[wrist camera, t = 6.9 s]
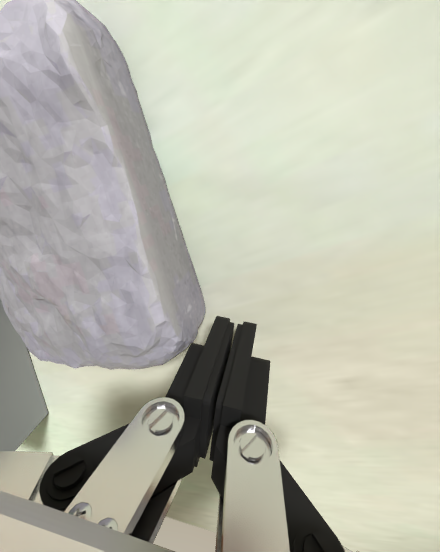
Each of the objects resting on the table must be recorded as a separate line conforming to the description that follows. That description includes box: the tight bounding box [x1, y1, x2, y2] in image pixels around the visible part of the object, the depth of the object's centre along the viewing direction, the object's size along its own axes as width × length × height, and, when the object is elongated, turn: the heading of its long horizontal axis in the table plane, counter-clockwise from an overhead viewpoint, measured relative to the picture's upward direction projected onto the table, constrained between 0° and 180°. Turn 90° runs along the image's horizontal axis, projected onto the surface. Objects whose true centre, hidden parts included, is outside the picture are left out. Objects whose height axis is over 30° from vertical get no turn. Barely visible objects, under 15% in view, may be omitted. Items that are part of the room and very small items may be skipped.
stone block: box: [0, 0, 205, 369], centre depth 11 cm, size 12×5×10 cm
